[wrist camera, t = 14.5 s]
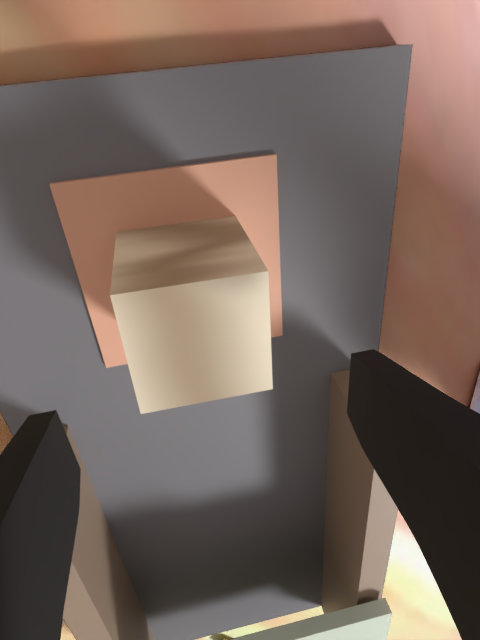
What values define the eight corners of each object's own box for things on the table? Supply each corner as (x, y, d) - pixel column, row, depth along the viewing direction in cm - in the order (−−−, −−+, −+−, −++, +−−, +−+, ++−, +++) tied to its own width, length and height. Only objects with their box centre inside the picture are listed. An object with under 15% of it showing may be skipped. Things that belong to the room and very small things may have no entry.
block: (235, 215, 17) (268, 271, 13) (243, 315, 19) (272, 389, 15) (116, 231, 16) (109, 295, 12) (139, 332, 19) (140, 413, 15)
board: (398, 44, 16) (519, 43, 11) (346, 585, 37) (380, 672, 31) (-140, 99, 14) (-300, 130, 9) (125, 642, 34) (124, 746, 29)
